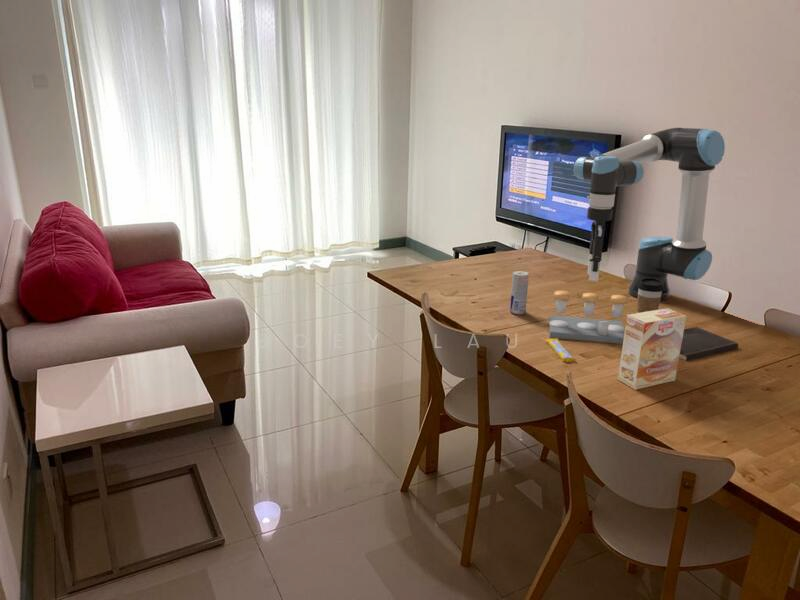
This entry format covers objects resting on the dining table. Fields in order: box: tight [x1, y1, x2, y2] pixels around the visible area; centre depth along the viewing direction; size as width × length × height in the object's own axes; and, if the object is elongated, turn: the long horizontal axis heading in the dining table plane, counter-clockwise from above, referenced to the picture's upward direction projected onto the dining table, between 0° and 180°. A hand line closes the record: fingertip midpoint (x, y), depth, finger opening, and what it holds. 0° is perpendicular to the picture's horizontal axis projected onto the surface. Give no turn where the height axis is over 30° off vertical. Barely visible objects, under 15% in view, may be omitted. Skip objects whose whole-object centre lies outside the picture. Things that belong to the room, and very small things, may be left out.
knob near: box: [610, 294, 628, 319], centre depth 201 cm, size 5×5×7 cm
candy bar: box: [545, 338, 577, 363], centre depth 189 cm, size 17×4×2 cm, turn 6°
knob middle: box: [581, 292, 599, 317], centre depth 202 cm, size 5×5×7 cm
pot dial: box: [598, 321, 609, 336], centre depth 198 cm, size 3×3×4 cm
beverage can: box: [509, 270, 529, 315], centre depth 221 cm, size 6×6×15 cm
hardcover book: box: [679, 326, 739, 362], centre depth 195 cm, size 16×23×2 cm
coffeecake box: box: [617, 307, 687, 391], centre depth 168 cm, size 15×7×20 cm, turn 114°
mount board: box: [548, 314, 625, 345], centre depth 205 cm, size 24×16×2 cm, turn 78°
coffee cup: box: [636, 278, 664, 313], centre depth 213 cm, size 8×8×15 cm
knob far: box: [553, 290, 571, 314], centre depth 204 cm, size 5×5×7 cm
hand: (592, 277), depth 199 cm, fingers open, 7 cm apart
